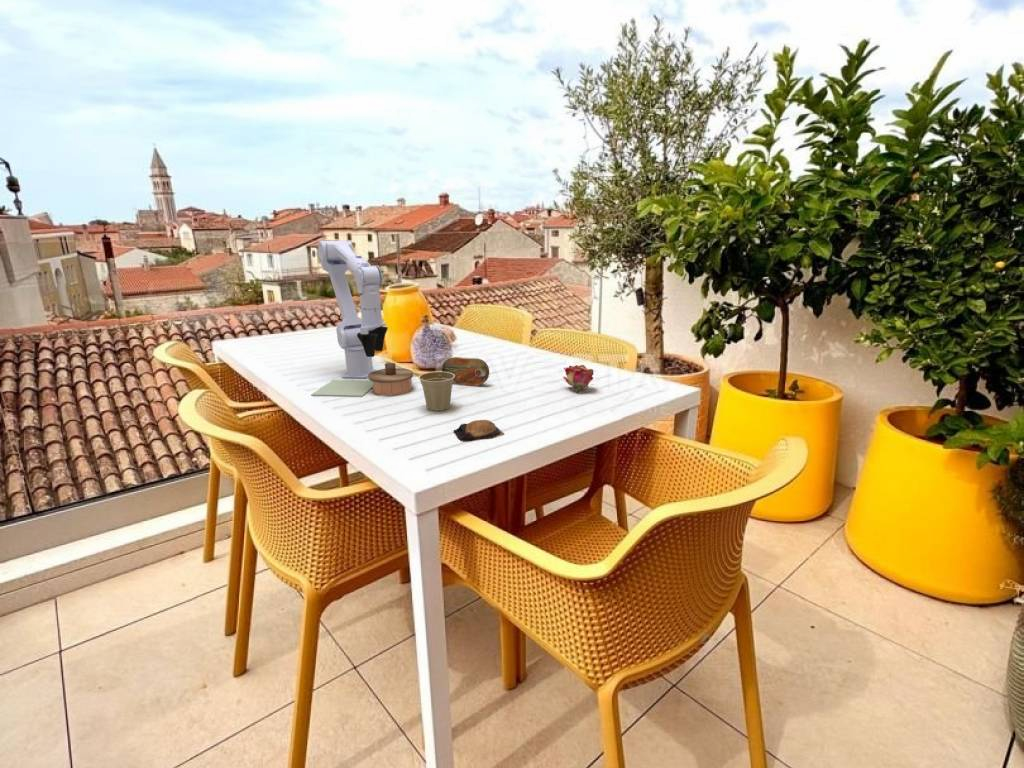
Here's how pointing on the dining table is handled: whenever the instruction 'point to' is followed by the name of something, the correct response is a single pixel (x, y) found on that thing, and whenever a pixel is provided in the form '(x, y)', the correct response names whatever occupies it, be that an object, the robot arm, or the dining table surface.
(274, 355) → the dining table surface
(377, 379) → the walnut lid
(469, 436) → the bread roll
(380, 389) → the terracotta bowl
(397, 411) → the dining table surface
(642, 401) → the dining table surface
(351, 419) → the dining table surface
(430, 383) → the flower pot
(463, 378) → the tin
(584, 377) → the flower
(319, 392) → the rubber mat
